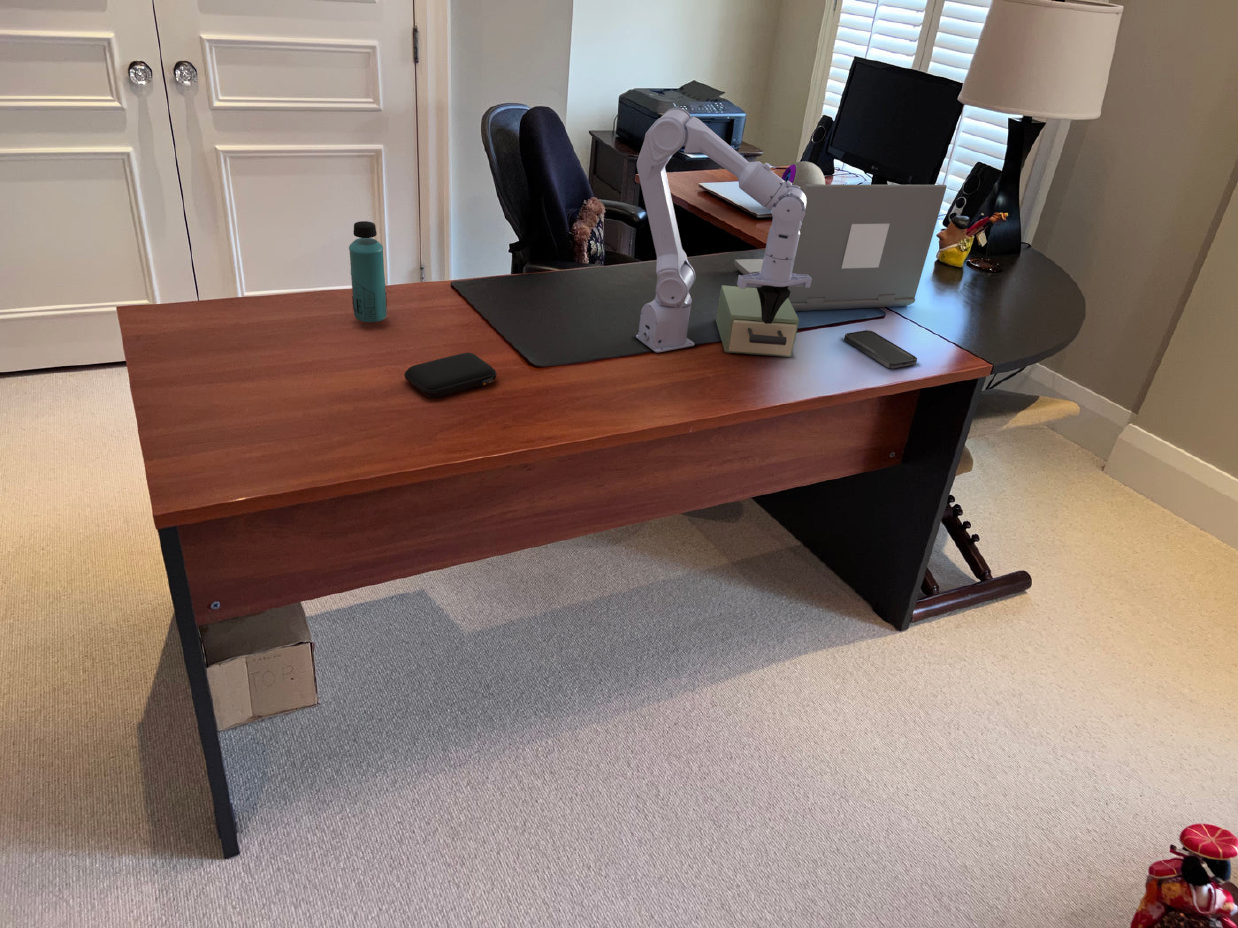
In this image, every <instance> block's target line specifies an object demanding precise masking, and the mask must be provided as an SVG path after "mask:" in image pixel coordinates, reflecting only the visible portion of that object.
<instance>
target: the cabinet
mask: <svg viewBox="0 0 1238 928" xmlns="http://www.w3.org/2000/svg"><path fill="white" fill-rule="evenodd" d="M719 292H720V293H719V297H718V298H719V299H718V304H717V310H716V316H715V322H716V323H715V324H716V326H717V330H718V333H719V337H720V340H721V344H722V347H723V351H724V353H731V354H744V355H757V356H773V357H783V358H792V355H793V351H794V346H795V342H796V337H797V333H798V327H799V322H800V319H799V317H798V314H797V313H796V311H794V309H793V307H792V304H791V302H790V300H789V298H787V299H786V300H785V302H784V303H783V304H782V305H781V307H780V308H779V310H778V312H777V313H776V315H775V317H774V320H773V322H783V323H790V324H795V325H796V331H795V336H794V340H793V345H792V350H791V354H790V355H777V354H763V353H750V352H736V351H729V343H730V337H731V332H732V326H733V320H734V319H743V320H756V321H762V313H761V303H760V298H759V294H758V291H757V288H756V287H746V288H745V289H741V288H740V287H738V286H737V285H736V286H735V285H724V284H723V285H721V287H720V291H719Z"/></svg>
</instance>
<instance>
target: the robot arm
mask: <svg viewBox="0 0 1238 928" xmlns="http://www.w3.org/2000/svg"><path fill="white" fill-rule="evenodd" d="M682 147H684V150H683V153H684V154H695V153H697V154H699V153H700V154H703V155H705V156H706V157H707V158H709V159H710V160H712V161H713V162H714V163H716V164H718V165H719V166H720V167H722V168H723V169H724V170H726V171H728V172H729V173H730V174H732V175H733V176H735V177H736V178H737V181H738V187H739V189H740V190H741V191H743V193H745V194H746V195H748V196H749V197H750V198H751V199H753V200H754V201H755V202H757V203H758V204H759V205H761V206H762V207H763V208H764V209H766V210H769V211H771V216H772V219H771V220H772V221H771V226H770V227H769V229H768V232H767V233H768V234H767V239H766V245H765V250H764V255H763V258H762V259H763V265H762V270H761V272H759V273H753V274H748V275H743V274H738V277H737V281H736V286H737V287H740V288H741V289H745V288H746V287H749V288H757V291H758V294H759V298H760V303H761V313H762V321H763V322H764V323H765V324H772V322H773V320H774V317H775V315H776V313H777V312H778V310H779V308H780V307H781V305H782V304H783V303H784V302H785V300H786V299H787V298H788V297H789V296H790V290H789V289H788V287H794V286H804V287H805V288H810V285H811V281H812V278H811V277H810V276H809V275H807V274H794V273H792V270H793V265H794V261H795V256H796V251H797V246H798V242H799V237H800V231H799V230H800V229H801V225H802V222H801V221H802V219H803V218H804V216H805V208H806V204H807V201H806V196H805V194H804V192H803V191H802V190H801V189H800V187H798V186H795V185H792V183H791V182H790V181H787V182H785V181H784V180H783V179H781V178H782V177H780V176H779V175H778V174H776V173H775V172H774V171H773V170H771V169H772V165H771V164H770V163H768V162H765V163H762V162H761V161H759V160H757V161H748V160H747V159H746V158H745V157H744V156H742V155H741V154H740V153H739V152H738V151H737V150H735V149H734V148H733V147H732V146H731V145H730V144H728V143H727V142H726V141H725V140H724V139H723V138H721V137H720V136H719V135H718V134H716V132H714V131H713V130H712V129H711V128H709V126H707V125H706V124H705V123H704V122H703V121H702V120H701V119H699V118H698V117H696V116H692V115H691V114H690V113H689V111H687V110H686V109H684V108H681V107H672V108H669V109H668V110H666V111H665V112H664V113H663V114H662V115H661V117H660V118H657V119H656V120H655V121H654V122H653V124H652V125H651V126H650V127H649V129H648V130H647V131H646V132H645V135H644V139H643V143H642V146H641V149H640V152H639V155H638V158H637V161H636V169H637V175H638V178H639V179H638V180H639V184H640V187H641V192H642V197H643V202H644V205H645V210H646V214H647V218H648V219H647V220H648V223H649V228H650V231H651V236H652V242H653V246H654V250H655V254H656V265H655V266H656V268H655V273H656V277H657V281H656V285H655V298H654V299H653V300H652V301H650V302H647V303H645V304H643V306H642V307H641V310H640V315H639V316H640V317H639V324H638V333H637V334H636V335H635V338H636V339H637V340H639V341H640V342H641V343H643V344H644V345H645V346H646V347H648V348H649V349H651V350H652V351H653V352H654V353H656V354H657V353H658V354H659V353H663V352H670V351H673V350H674V351H675V350H681V349H685V348H690V347H694V346H695V344H696V343H695V342H694V341H692V340H691V339H689V338H688V337H687V336H688V330H689V329H688V328H689V322H690V316H691V309H692V303H693V302H692V301H693V299H692V296H691V295H690V290H691V288H692V287H693V286H694V284H695V281H696V272H695V269H694V268H693V266H692V265H691V263H690V262H689V260H688V256H687V253H686V252H685V250H684V249H683V246H682V242H681V237H680V232H679V228H678V222H677V218H676V213H675V208H674V204H673V198H672V194H671V189H670V185H669V180H668V175H667V170H666V165H668V163H669V161H670V160H671V158H672V157H673V155H675V154H676V153H677V152H678V151H680V149H682Z"/></svg>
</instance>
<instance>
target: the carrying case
mask: <svg viewBox="0 0 1238 928" xmlns="http://www.w3.org/2000/svg"><path fill="white" fill-rule="evenodd" d="M497 375H498V374H497V371H496V370H495V368H494V367H493V366H492V365H490V364H488V363H487V362H486V361H485V360H483V359H482V358H481V357H479V356H478V355H476V354H475V353H473V352H463V353H459V354H454V355H450V356H446V357H442V358H438V359H433V360H429V361H426V362H422V363H418V364H414V365H411V366H410V367H408V368H407V369H406V371H404V378H405V379H404V380H406V381H407V382H409V384H411V385H412V386H414V388H416V389H417V390H418V391H419V392H420V393H421V394H423V395H424V396H426V397H427V398H429V399H430V398H431V399H436V398H439V397H444V396H447V395H451V394H455V393H459V392H463V391H466V390H469V389H474V388H476V387H483V388H484V387H485V386H487V385H489V384H491V383H493V382H494V381H495V380H496V378H497Z"/></svg>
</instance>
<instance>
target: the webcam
mask: <svg viewBox="0 0 1238 928" xmlns="http://www.w3.org/2000/svg"><path fill="white" fill-rule="evenodd" d="M780 178H781V179H783V180H784V181H785V182H787V181H790V182H791V183H792V185H795V186H798V187H800V189H801V190H802V191H803V192H804V188H805V184H826V179H825V175H824V173H823V171H822V169H821V168H820V167H819V166H817V165H816V164H815V163H813V162H810V161H804V160H803V161H797V162H795V163H792V164H790V165H789V166H787V168H786V169H785V170H784V172H783V173H782V175H781V177H780Z"/></svg>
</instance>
